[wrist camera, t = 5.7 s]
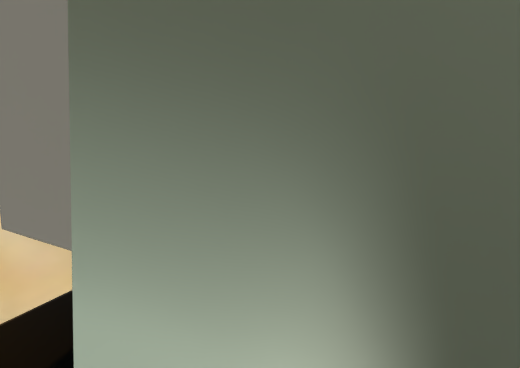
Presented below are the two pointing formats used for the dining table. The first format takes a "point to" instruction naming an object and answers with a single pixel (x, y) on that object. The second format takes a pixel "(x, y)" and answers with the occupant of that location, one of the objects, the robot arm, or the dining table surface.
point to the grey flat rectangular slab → (35, 120)
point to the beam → (295, 183)
